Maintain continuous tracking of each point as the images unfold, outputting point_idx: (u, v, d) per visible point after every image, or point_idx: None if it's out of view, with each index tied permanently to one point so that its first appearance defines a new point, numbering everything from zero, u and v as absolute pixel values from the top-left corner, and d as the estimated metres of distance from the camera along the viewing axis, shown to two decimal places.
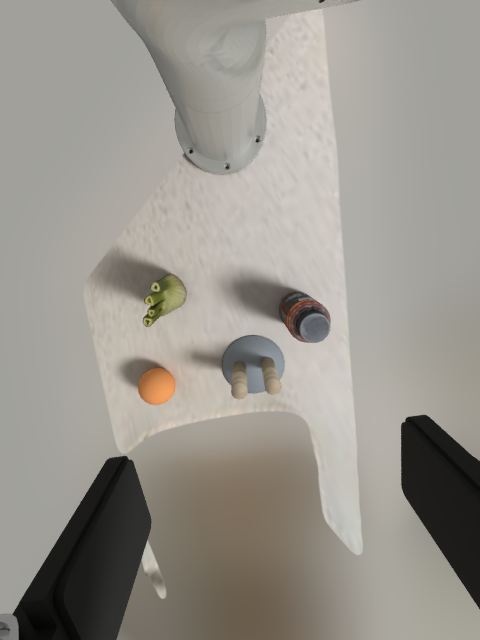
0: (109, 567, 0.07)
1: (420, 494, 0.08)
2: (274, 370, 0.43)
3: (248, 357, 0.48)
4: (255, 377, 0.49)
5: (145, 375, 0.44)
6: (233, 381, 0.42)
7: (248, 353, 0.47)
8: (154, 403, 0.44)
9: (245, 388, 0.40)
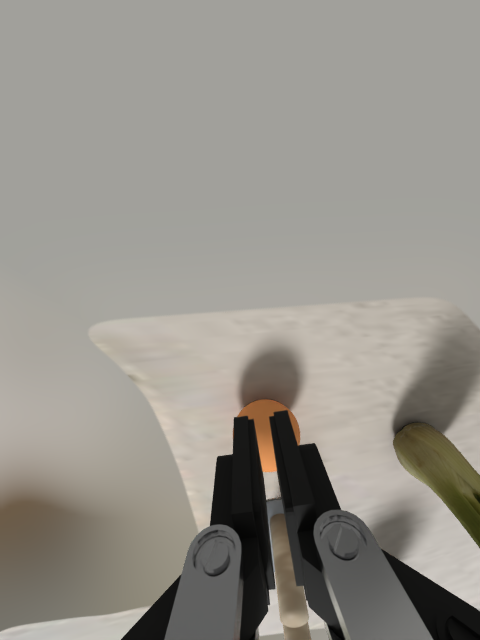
0: (263, 502, 0.08)
1: (278, 478, 0.10)
2: None
3: None
4: None
5: (296, 428, 0.23)
6: None
7: None
8: None
9: (299, 624, 0.23)
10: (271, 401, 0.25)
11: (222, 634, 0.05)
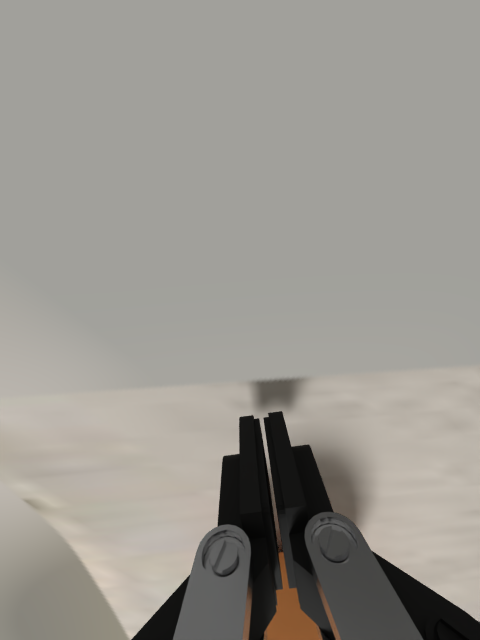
0: (270, 502, 0.08)
1: None
2: None
3: None
4: None
5: None
6: None
7: None
8: None
9: None
10: None
11: (231, 636, 0.05)
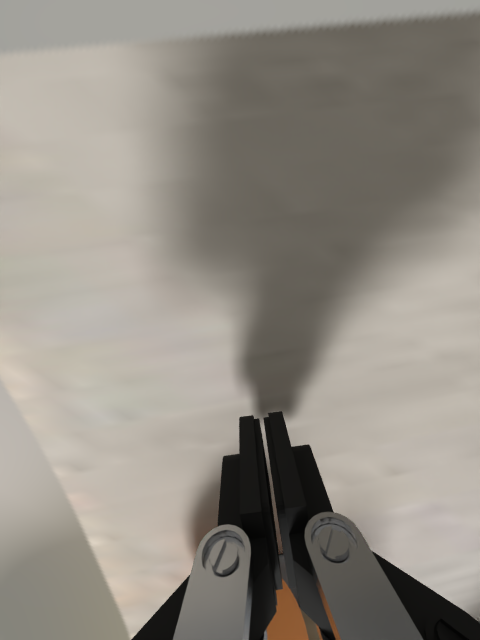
0: (270, 502, 0.08)
1: None
2: None
3: None
4: None
5: None
6: None
7: None
8: None
9: None
10: None
11: (231, 636, 0.05)
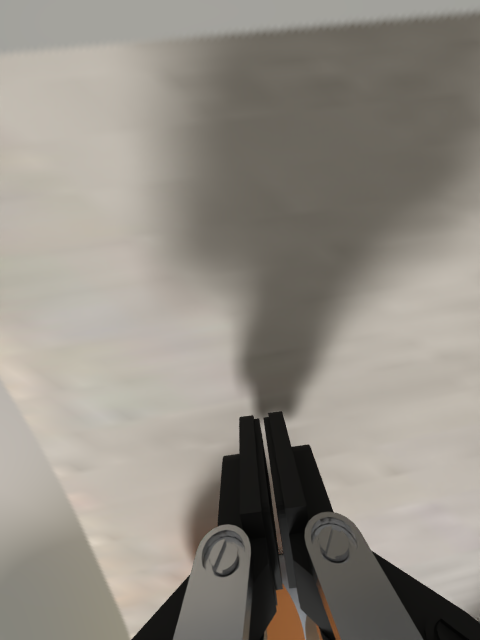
0: (270, 502, 0.08)
1: None
2: None
3: None
4: None
5: None
6: None
7: None
8: None
9: None
10: None
11: (231, 636, 0.05)
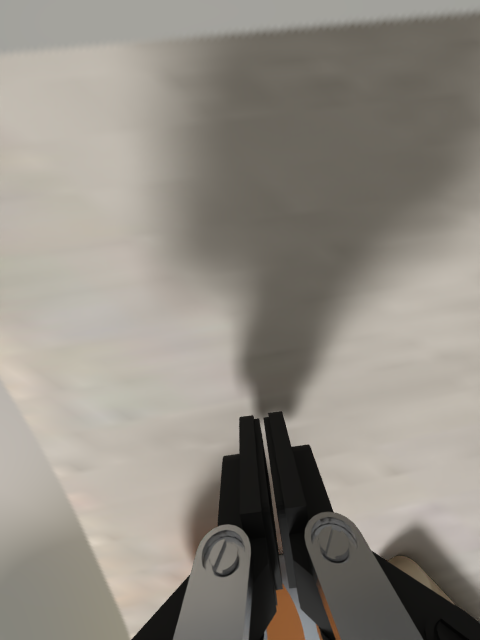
0: (270, 502, 0.08)
1: None
2: None
3: None
4: None
5: None
6: None
7: None
8: None
9: None
10: None
11: (231, 636, 0.05)
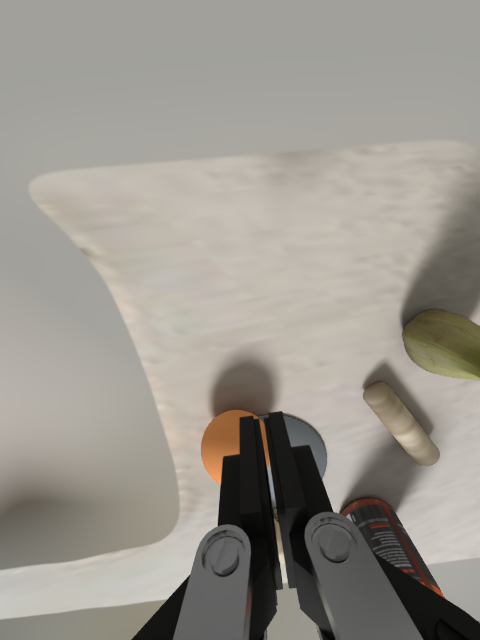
0: (270, 502, 0.08)
1: None
2: (283, 559, 0.28)
3: None
4: None
5: None
6: (404, 448, 0.25)
7: None
8: None
9: (434, 459, 0.25)
10: None
11: (231, 636, 0.05)
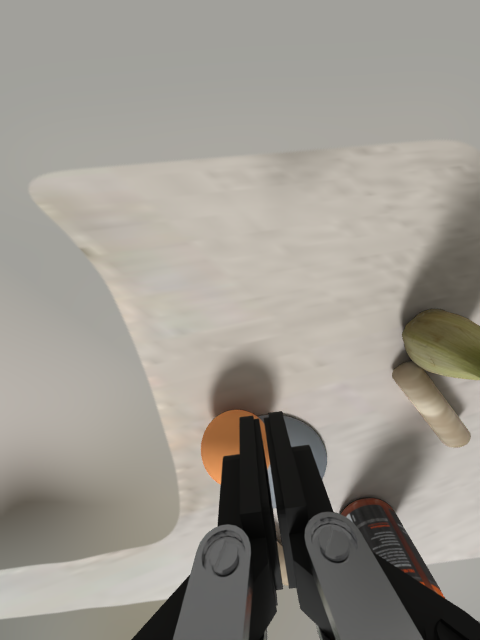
0: (270, 502, 0.08)
1: None
2: None
3: None
4: None
5: None
6: (460, 420, 0.24)
7: None
8: None
9: None
10: None
11: (231, 636, 0.05)
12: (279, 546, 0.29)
